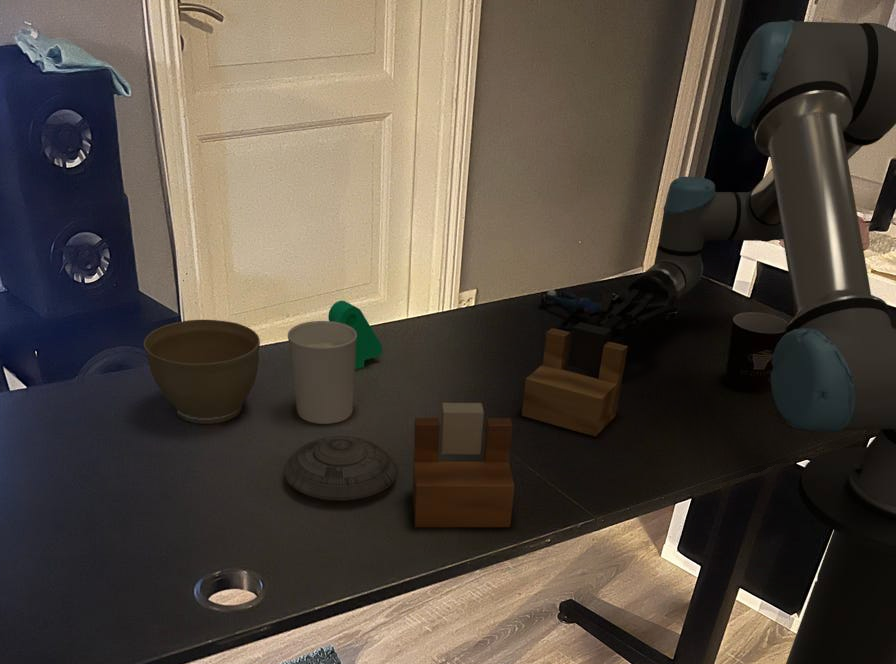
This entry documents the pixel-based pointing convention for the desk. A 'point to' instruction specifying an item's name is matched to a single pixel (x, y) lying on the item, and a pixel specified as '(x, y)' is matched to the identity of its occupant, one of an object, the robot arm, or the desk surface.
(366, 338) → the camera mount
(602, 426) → the far stand
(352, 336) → the white tumbler cup
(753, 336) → the coffee mug
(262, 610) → the desk surface
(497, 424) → the near stand
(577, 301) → the person figurine
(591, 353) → the black block
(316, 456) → the flying saucer
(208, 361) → the planter bowl
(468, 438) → the ivory key
